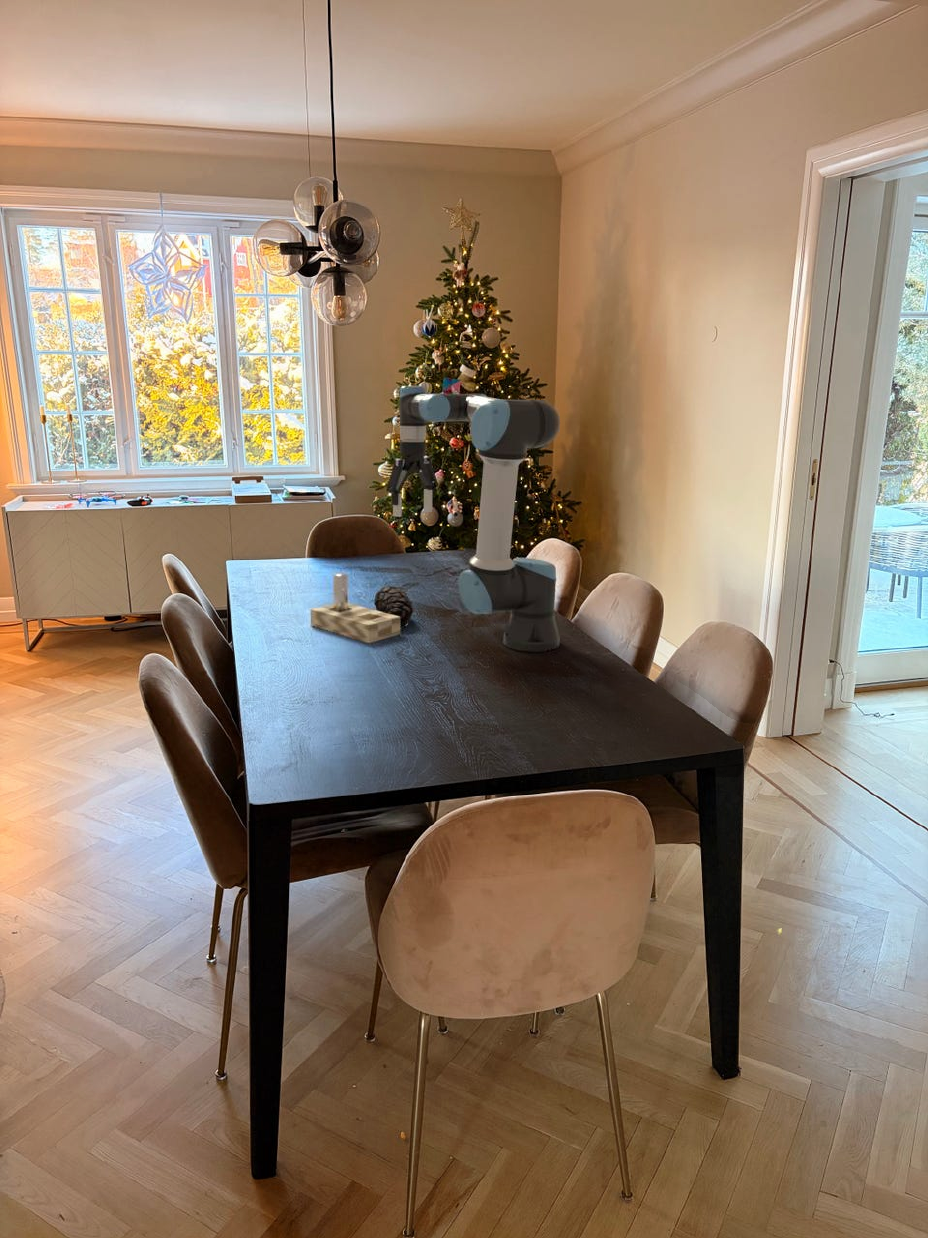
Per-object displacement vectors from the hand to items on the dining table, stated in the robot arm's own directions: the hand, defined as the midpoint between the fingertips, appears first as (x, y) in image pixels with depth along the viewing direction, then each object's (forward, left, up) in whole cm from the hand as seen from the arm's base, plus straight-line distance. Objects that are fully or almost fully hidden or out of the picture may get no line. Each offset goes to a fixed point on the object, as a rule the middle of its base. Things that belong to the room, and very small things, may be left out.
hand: (412, 513), depth 264 cm
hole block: (-2, +26, -30) cm, 40 cm away
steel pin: (+4, +26, -29) cm, 39 cm away
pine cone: (-4, +11, -30) cm, 33 cm away
